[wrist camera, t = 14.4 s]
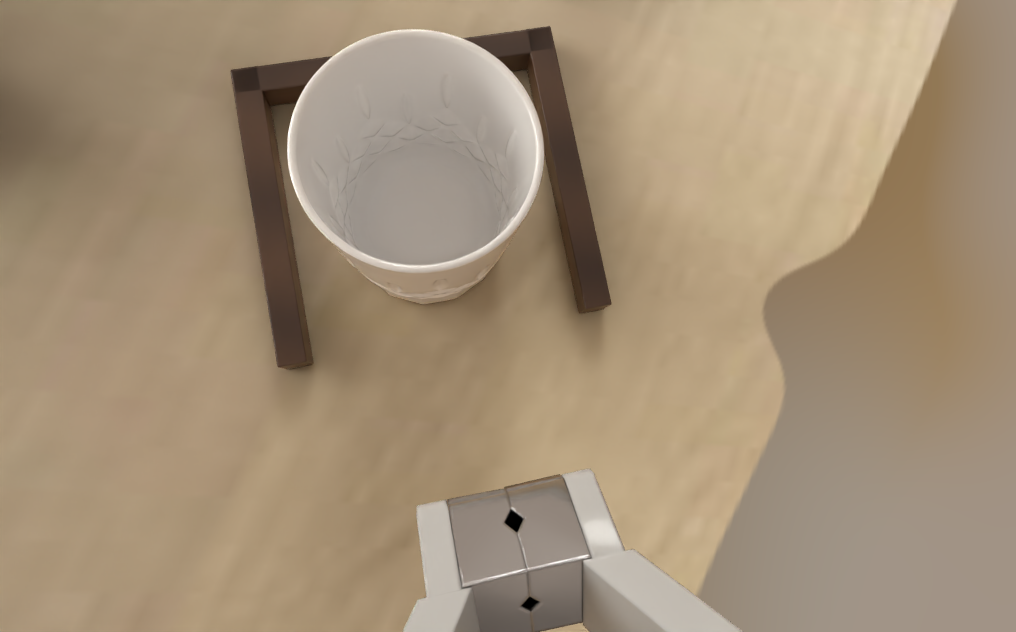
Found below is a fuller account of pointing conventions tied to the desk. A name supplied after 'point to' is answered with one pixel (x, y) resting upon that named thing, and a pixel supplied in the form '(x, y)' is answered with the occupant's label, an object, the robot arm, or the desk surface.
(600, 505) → the robot arm
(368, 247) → the white cup
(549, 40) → the dock
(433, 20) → the desk surface
